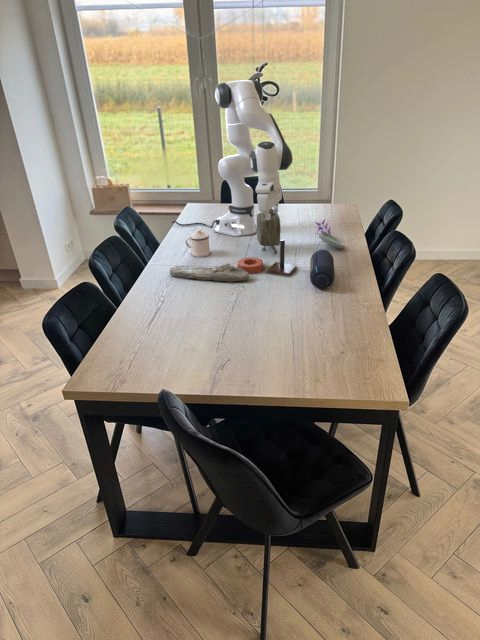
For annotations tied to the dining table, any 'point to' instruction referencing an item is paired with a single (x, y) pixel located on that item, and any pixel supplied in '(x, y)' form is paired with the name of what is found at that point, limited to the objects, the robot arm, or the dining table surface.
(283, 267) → the stand
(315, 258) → the portable speaker
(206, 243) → the teacup with lid
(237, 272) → the long grey stone
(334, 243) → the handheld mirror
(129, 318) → the dining table surface
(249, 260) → the ring
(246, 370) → the dining table surface
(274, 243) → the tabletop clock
